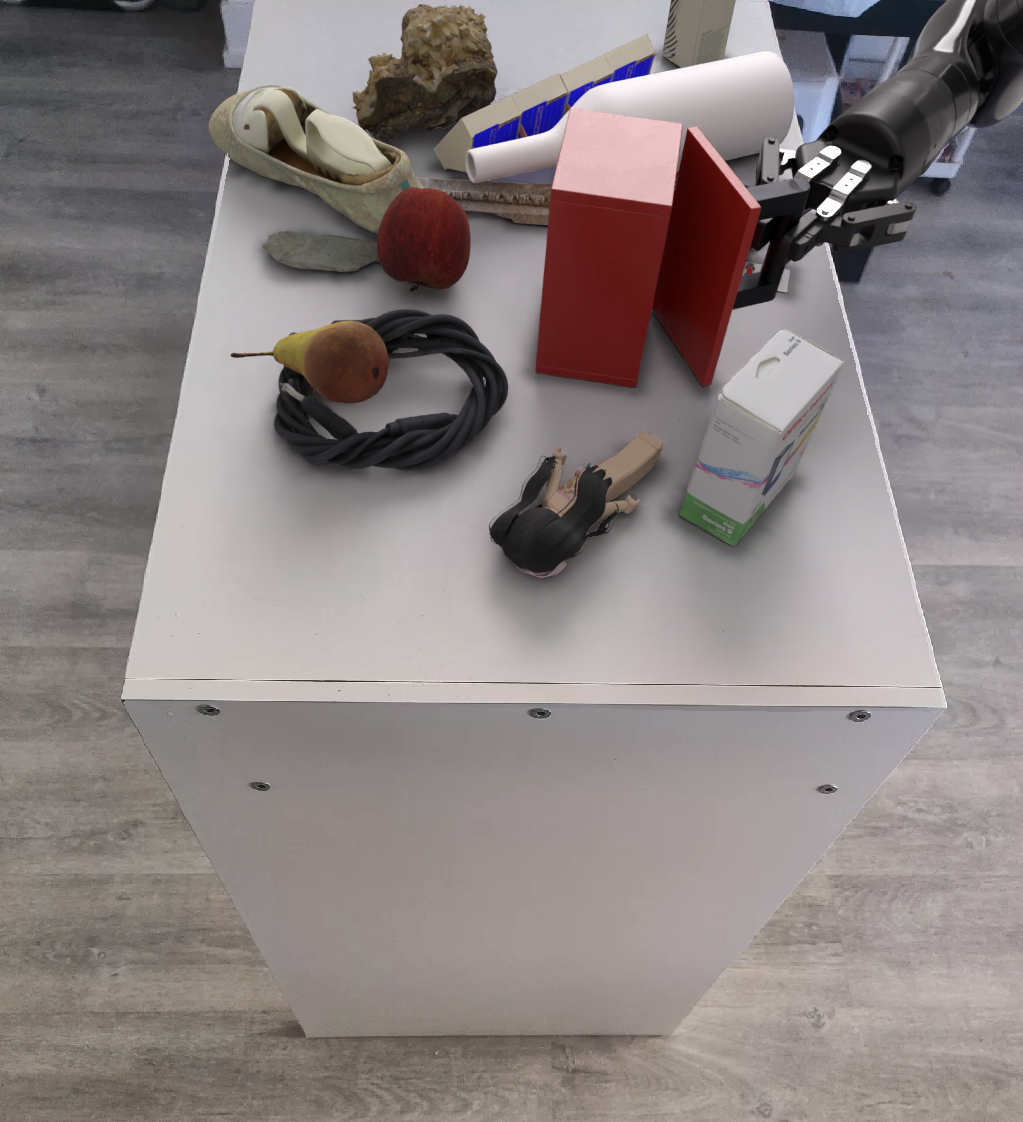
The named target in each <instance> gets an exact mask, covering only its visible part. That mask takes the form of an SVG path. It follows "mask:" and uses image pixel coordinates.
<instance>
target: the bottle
mask: <svg viewBox="0 0 1023 1122" xmlns="http://www.w3.org/2000/svg"><path fill="white" fill-rule="evenodd" d="M571 108H575V109H582V110H589V111H596V112H603V113H610V114H617V115H625V116H632V117H639V118H646V119H653V120H660V121H668V122H675V123H682V124H683V129H682V136H681V144H680V152H679V159H678V167H677V173H678V172H679V167H680V162H681V157H682V152H683V147H684V142H685V137H686V132H687V128H690V127H695V126H697V127H698V128H699V129H700V131H701V132H702V133H703V134H704V136H705V137H706V138H707V139H708V141H709V142H710V143H711V144H712V146H713V147H714V148H715V149H716V151H717V152H718V153H719V154H720V156H721V157H722V158H723V159H724V161H725V162H727V161H730V160H734V159H739V158H742V157H748V156H752V155H756V154H760V152H761V148H762V144H763V141H764V138H766V137H775V138H777V139H778V140H779V142H780V145H781V144H782V143H783V142H784V140H785V139H786V137H787V136H788V134H789V132H790V129H791V126H792V123H793V120H794V113H795V89H794V84H793V79H792V76H791V73H790V69H788V66H787V64H786V63H785V61H784V60H783V58H782V57H780V56H779V55H778V54H777V53H775V52H774V51H767V50H764V51H758V52H754V53H748V54H743V55H739V56H734V57H733V56H732V57H729V58H723V59H721V60H719V61H714V62H709V63H704V64H699V65H694V66H690V67H685V68H681V67H679V68H675V69H670V70H666V71H661V72H656V73H650V75H646V76H641V77H636V78H631V79H626V80H621V81H617V82H612V83H608V84H604V85H600V86H597V87H594V88H592V89H590V90H589V91H587V92H586V93H585V94H584V95H583V96H582V97H581V98H580V99H579V100H578V101H577V102H576V103H575V104H574V105H573V106H572V107H571ZM569 111H570V110H569ZM569 111H568V112H567V113H566V114H565V115H564V116H563V118H562V119H561V120H560V121H559V122H558V123H557V124H556V125H555V126H554V127H553V128H552V129H551V130H550V131H547V132H545V133H541V134H537V135H533V136H529V137H525V138H520V139H516V140H511V141H507V142H502V143H498V144H493V145H488V146H484V147H479V148H475V149H471V150H468V151H467V152H466V155H465V165H466V170H467V172H466V174H467V177H468V180H471V182H472V183H480V182H485V181H494V180H498V179H502V178H507V177H510V176H516V175H520V174H525V173H530V172H535V171H538V170H544V169H551V168H552V169H553V168H556V166H557V162H558V158H559V153H560V149H561V145H562V141H563V136H564V132H565V128H566V124H567V119H568V115H569Z"/></svg>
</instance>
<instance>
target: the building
mask: <svg viewBox="0 0 1023 1122" xmlns="http://www.w3.org/2000/svg"><path fill="white" fill-rule="evenodd" d="M657 55H658V54H657V52H656V50H655V48H654V45H653V43H652V41H651V39H650V37H649V35H648V33H646V34H644V35H642V36H639V37H637V38H635V39H633V40H630V41H629V42H627V43H625V44H622V45H621V46H618V47H615V48H614V49H612V50H610V51H608V52H606V53H603V54H601V55H599V56H597V57H595V58H592V59H590V60H588V61H587V62H584V63H582V64H580V65H578V66H575V67H573V68H572V69H570V70H567V71H565V72H563V73H561V74H559V72H557V73H555V74H553V75H550V76H549V77H546V78H545V79H542V80H540V81H538V82H536V83H533V84H532V85H530V86H528V87H527V86H526V87H524V88H522V89H521V90H519V91H516V92H515V93H513V94H510V95H508V96H506V97H504V98H501V99H499V100H497V101H495V102H492V103H491V105H489V106H486V107H484V108H482V109H480V110H478V111H476V112H474V113H471V114H469V115H467V116H465V117H463V118H461V119H460V120H459V121H458V122H456V123H455V124H454V125H453V127H452V128H451V129H450V130H449V131H448V132H447V133H446V135H445V136H444V137H443V138H442V139H441V140H440V141H439V142H438V144H437V145H436V146H435V147H434V148H433V150H434V152H435V154H436V156H437V158H438V160H439V162H440V163H441V166H442V167H443V169H444V171H446V170H448V169H449V170H454V171H457V172H458V171H459V172H464V173H467V170H466V165H465V155H466V152H467V151H468V150H471V149H475V148H479V147H484V146H488V145H493V144H498V143H502V142H507V141H511V140H516V139H520V138H525V137H529V136H533V135H537V134H541V133H545V132H547V131H550V130H551V129H552V128H553V127H554V126H555V125H556V124H557V123H558V122H559V121H560V120H561V119H562V118H563V116H564V115H565V114H566V113H567V112H568V111H569V110H570V108H571V107H572V106H573V105H574V104H575V103H576V102H577V101H578V100H579V99H580V98H581V97H582V96H583V95H584V94H585V93H586V92H587V91H589V90H590V89H592V88H594V87H597V86H600V85H604V84H608V83H612V82H617V81H621V80H626V79H631V78H636V77H641V76H646V75H651V71H652V67H653V65H654V60H655V57H657Z"/></svg>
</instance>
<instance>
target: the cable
mask: <svg viewBox="0 0 1023 1122" xmlns="http://www.w3.org/2000/svg"><path fill="white" fill-rule="evenodd" d="M341 321H357V322H361V323H364V324H366V325H368V326H370V327H371V328H372V329H374V330H375V331H376V332H377V333H378V335H379V336H380V337H381V339H382V340H383V342H384V344H385V347H386V350H387V354H388V360H389V359H390V360H391V359H411V358H417V357H419V358H420V357H424V356H430V355H437V354H439V355H440V354H441V355H444V356H445V357H446V358H448V359H450V360H451V361H453V362H454V363H455V364H456V365H457V366H458V367H460V369H462V371H463V372H464V373H465V374H466V376H467V378H468V379H469V381H470V383H471V384H472V387H471V390H470V391H469V394H468V396H467V398H466V400H465V401H464V403H463V405H462V407H461V409H460V411H459V412H458V414H457V413H449V412H437V413H429V414H421V415H420V414H419V415H415V416H408V417H400V418H396V419H395V420H394V421H392V422H387V423H386V424H385V427H384V428H382V429H381V430H378V431H372V430H371V431H362V432H358V430H357V429H356V428H355V427H354V425H352V424H351V423H350V422H349V421H348V420H346V419H345V418H344V417H342V416H340V415H338V413H336V412H335V411H334V410H332V409H331V407H329V406H327V405H326V404H324V402H322V401H321V400H319V399H318V398H316V397H314V391H315V389H314V388H313V387H312V386H311V385H310V384H309V382H308V381H307V379H306V378H305V377H304V376H303V375H301V374H300V373H298V372H296V371H294V370H291V369H289V368H287V367H286V366H284V365H283V364H282V366H283V367H282V369H281V371H280V373H279V377H278V391H279V393H278V395H277V397H276V401H275V406H276V413H275V416H274V419H273V427H274V428H273V429H274V430H275V432H276V433H277V434H278V435H279V436H280V437H281V438H283V439H286V441H287V443H288V444H289V446H290V447H291V449H293V450H294V451H295V452H298V453H300V455H301V457H302V458H303V460H304V461H305V462H307V463H309V464H311V465H319V464H322V463H325V462H326V463H328V464H331V465H337V466H340V467H342V468H346V469H348V470H362V469H363V470H364V469H369V468H371V467H376V468H381V469H383V468H384V469H392V470H398V471H405V472H406V471H408V472H409V471H412V472H413V471H420V470H425V469H428V468H430V467H431V468H432V467H433V466H436V465H438V464H439V463H442V462H443V461H445V460H446V459H448V458H449V457H451V455H452V454H454V453H457V452H459V451H461V450H462V449H464V448H465V447H466V446H468V445H469V444H470V443H471V442H473V440H474V439H475V438H476V437H477V436H479V434H480V433H482V432H483V430H485V428H486V427H487V426H488V425H489V423H490V421H491V419H492V418H493V417H494V416H495V415H496V414H498V413H499V411H501V409H502V408H503V407H504V405H505V404H506V401H507V398H508V395H509V382H508V376H507V375H506V372H505V371H504V369H503V368H502V366H501V365H500V364H499V362H497V360H496V358H495V357H494V355H493V353H492V352H491V351H490V349H488V348H487V346H485V344H483V342H481V341H480V338H479V337H478V335H477V333H476V332H475V330H474V328H472V326H470V325H469V324H468V323H467V322H466V321H465V320H463V319H462V318H460V317H458V316H455V315H451V314H444V313H437V314H432V313H429V312H427V311H424V310H423V311H422V310H419V309H414V308H413V309H410V308H399V309H393V310H390V311H387V312H384V313H382V314H380V315H377V316H376V317H368V318H363V319H336V320H332V322H331V323H330V324H333V323H337V322H341ZM296 333H297V332H294V331H293V332H290V333H289V334H288V336H289V335H292V334H296ZM422 335H425V336H422ZM401 349H402V350H403V349H414V350H413V351H404V352H403V351H402V352H396V351H398V350H401ZM415 349H416V350H415ZM310 417H311V418H312V419H313V420H314V421H315V422H317V423H318V424H319V425H320V426H321V427H323V428H324V430H326V431H327V432H328V433H329V434H330V436H331V437H333V438H327V437H325V436H323V435H321V434H319V432H318V431H317V430H316V429H315V427H314V425H312V424H311V422H310Z"/></svg>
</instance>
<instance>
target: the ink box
mask: <svg viewBox="0 0 1023 1122" xmlns="http://www.w3.org/2000/svg"><path fill="white" fill-rule="evenodd" d="M844 364H845V360H844V359H842V358H840V357H838V356H837V355H835V354H833V353H831V352H830V351H829V350H826V349H824V347H821V346H819V345H818V344H816V343H814V342H812V341H810V340H809V339H807V338H805V337H804V336H801V335H799V333H795V332H794V331H792V330H790V329H788V328H785V329H782V328H781V329H780V330H779V331H777V332H776V333H775V334H774V335H773V336H772V337H771V338H770V339H769V340H768V341H767V342H765V344H764V345H763V346H762V348H761V349H759V351H758V352H757V353H756V354H754V355H753V356H752V357H751V358H750V359H749V360H748V362H747V363H746V364H745V365H744V366H743V367H742V368H741V369H740V370H738V371H737V372H736V373H735V374H734V375H733V377H731V379H730V380H729V381H728V382H727V383H726V384H725V385H724V386H723V387H722V389H721V392H720V393H719V394H718V395H717V398H716V402H715V404H714V407H713V410H712V413H711V417H710V419H709V423H708V424H707V425H708V426H707V428H706V432H705V434H704V438H703V441H702V443H701V447H700V450H699V451H698V455H697V459H696V461H695V464H694V468H693V469H692V474H691V476H690V479H689V481H688V485H687V489H686V491H685V494H684V497H683V499H682V503H681V506H680V509H679V511H678V515H679V517H681V518H683V519H685V520H686V521H688V522H690V523H692V524H694V525H695V526H697V527H698V528H700V529H702V530H704V531H705V532H707V533H709V534H711V535H712V536H714V537H716V538H717V539H719V540H721V541H723V542H724V543H726V544H728V545H730V546H732V547H736V546H737V545H738V544H739V542H740V541H741V540H742V539H743V537H744V536H745V535H746V533H748V531H749V530H750V529H751V528H752V527H753V525H754V524H755V523H756V522H757V520H758V519H759V518H760V516H761V515H762V514H763V512H765V510H766V509H768V506H769V505H770V504H771V503H772V502H773V500H775V498H776V496H778V495H779V493H780V492H781V491H782V490H783V489H784V487H785V486H786V485H787V484H788V483H789V481H790V480H791V479H793V477H794V476H795V473H796V471H797V469H798V466H799V464H800V462H801V460H802V458H803V456H804V454H805V452H806V449H807V447H808V444H809V442H810V440H811V439H812V436H813V434H814V432H815V430H816V427H817V425H818V422H819V420H820V417H822V416H821V415H822V413H823V411H824V409H825V407H826V406H827V405H826V404H827V402H828V400H829V398H830V396H831V394H832V391H833V389H834V387H835V384H836V382H837V380H838V378H839V375H840V374H841V370H842V369H843V367H844Z"/></svg>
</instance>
